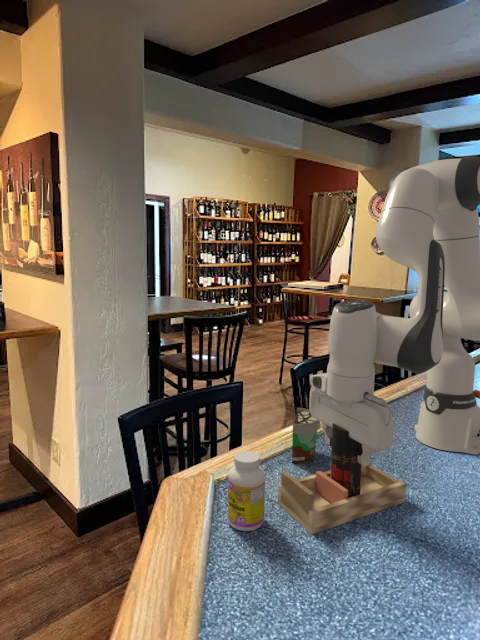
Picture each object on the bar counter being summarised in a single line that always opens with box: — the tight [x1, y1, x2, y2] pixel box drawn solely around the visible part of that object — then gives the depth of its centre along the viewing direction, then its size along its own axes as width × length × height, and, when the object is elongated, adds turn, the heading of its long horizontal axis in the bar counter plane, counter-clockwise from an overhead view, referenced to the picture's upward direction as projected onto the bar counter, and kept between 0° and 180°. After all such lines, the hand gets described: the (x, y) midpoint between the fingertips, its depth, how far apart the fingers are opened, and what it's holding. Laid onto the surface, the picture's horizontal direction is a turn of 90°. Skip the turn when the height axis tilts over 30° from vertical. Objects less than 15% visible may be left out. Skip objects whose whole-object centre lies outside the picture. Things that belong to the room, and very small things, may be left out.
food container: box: [291, 407, 322, 465], centre depth 110 cm, size 12×6×10 cm, turn 168°
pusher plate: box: [315, 470, 348, 503], centre depth 89 cm, size 1×8×4 cm, turn 28°
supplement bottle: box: [227, 450, 266, 532], centre depth 83 cm, size 7×7×13 cm
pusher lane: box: [277, 463, 408, 535], centre depth 90 cm, size 23×11×7 cm, turn 118°
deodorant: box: [329, 423, 364, 498], centre depth 90 cm, size 6×6×15 cm
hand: (346, 454), depth 90 cm, fingers open, 8 cm apart
